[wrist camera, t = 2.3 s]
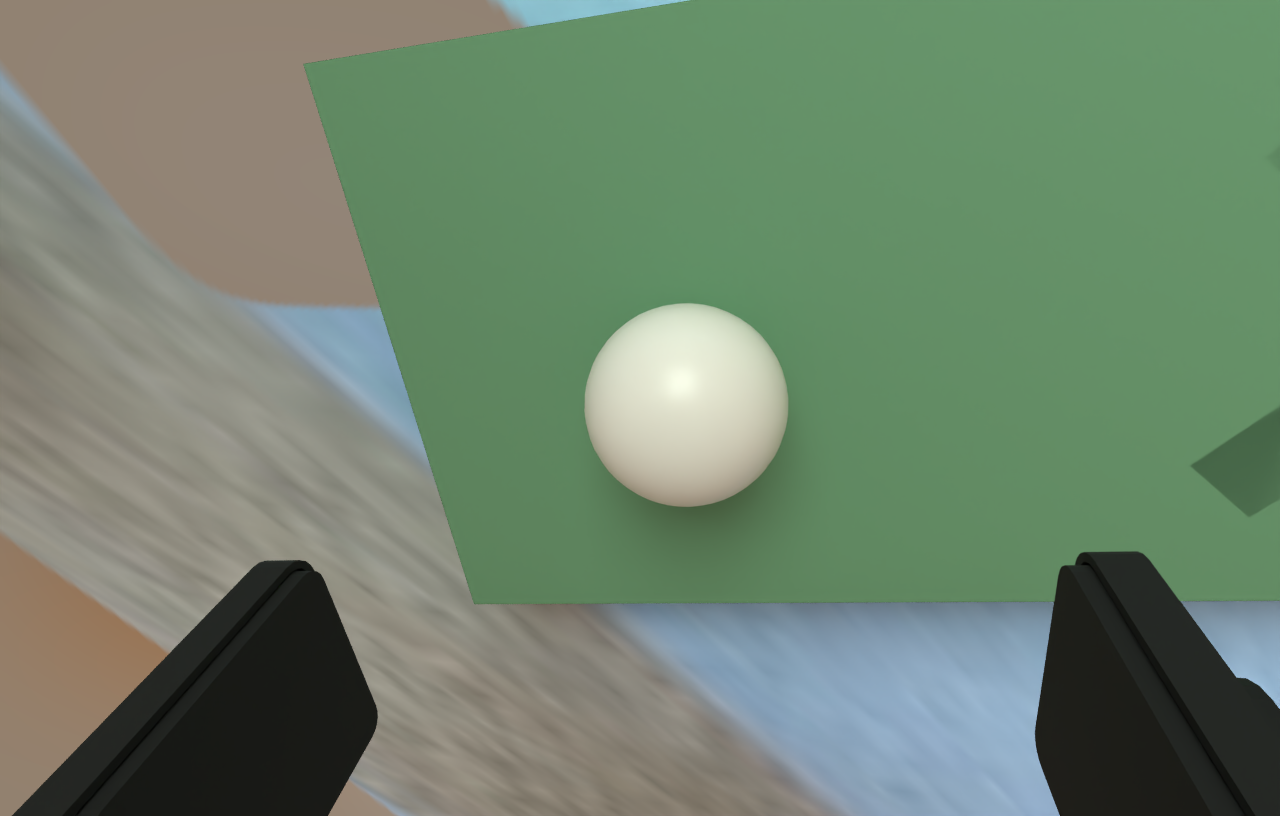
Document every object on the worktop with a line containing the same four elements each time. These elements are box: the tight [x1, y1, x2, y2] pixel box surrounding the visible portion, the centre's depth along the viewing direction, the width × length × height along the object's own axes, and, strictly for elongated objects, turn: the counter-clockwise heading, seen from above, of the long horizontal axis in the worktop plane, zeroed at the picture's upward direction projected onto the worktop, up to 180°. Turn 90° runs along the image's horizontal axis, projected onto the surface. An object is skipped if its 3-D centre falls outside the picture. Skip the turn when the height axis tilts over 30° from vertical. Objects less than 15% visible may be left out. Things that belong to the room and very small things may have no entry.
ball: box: [584, 303, 788, 507], centre depth 14 cm, size 4×4×4 cm
